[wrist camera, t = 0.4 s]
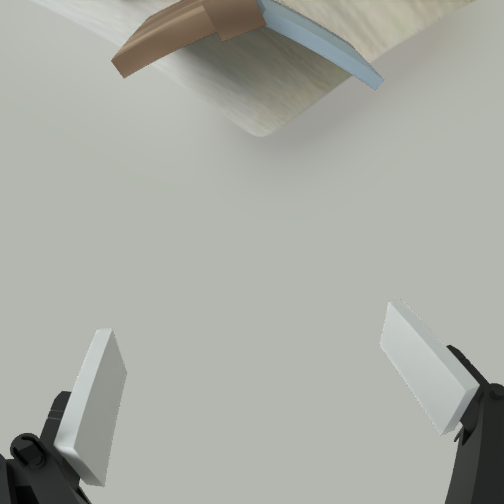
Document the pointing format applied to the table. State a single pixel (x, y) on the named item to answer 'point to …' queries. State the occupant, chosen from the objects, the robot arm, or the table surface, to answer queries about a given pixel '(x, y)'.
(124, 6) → the table surface
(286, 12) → the light blue flat panel
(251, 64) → the table surface
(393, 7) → the table surface
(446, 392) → the robot arm
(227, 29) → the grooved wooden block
